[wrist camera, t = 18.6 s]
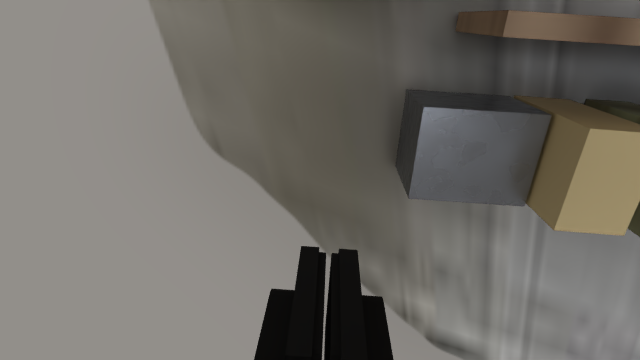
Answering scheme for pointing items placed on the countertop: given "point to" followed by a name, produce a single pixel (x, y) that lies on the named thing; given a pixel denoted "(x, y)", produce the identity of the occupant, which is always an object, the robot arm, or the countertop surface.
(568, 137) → the tan rectangular block
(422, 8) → the countertop surface
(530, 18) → the rack
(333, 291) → the robot arm
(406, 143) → the grey stone cube
